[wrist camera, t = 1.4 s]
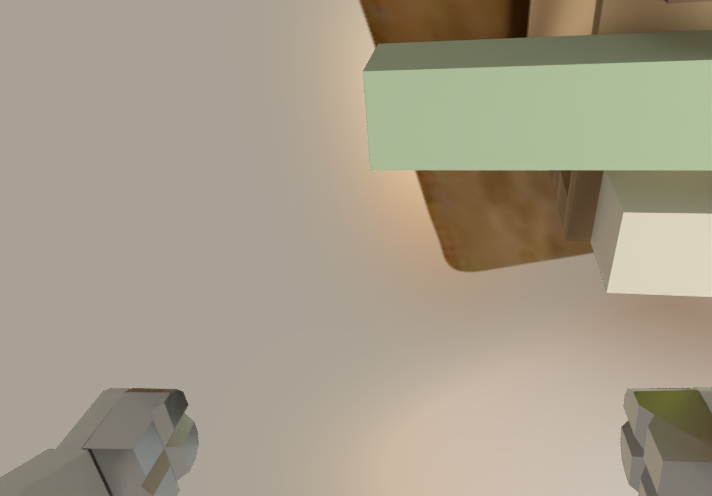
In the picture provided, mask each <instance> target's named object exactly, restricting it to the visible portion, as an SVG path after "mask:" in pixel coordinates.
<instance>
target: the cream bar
mask: <svg viewBox="0 0 712 496" xmlns="http://www.w3.org/2000/svg"><path fill="white" fill-rule="evenodd" d="M591 245H592V248H593V251H594V255H595V258H596V261H597V264H598V267H599V270H600V273H601V277H602V280H603V283H604V286H605V289H606V292H607V293H629V294H653V295H678V296H704V297H712V171H708V170H603V176H602V182H601V187H600V193H599V198H598V204H597V209H596V215H595V220H594V226H593V231H592V237H591Z"/></svg>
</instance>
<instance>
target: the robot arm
mask: <svg viewBox="0 0 712 496" xmlns="http://www.w3.org/2000/svg"><path fill="white" fill-rule="evenodd" d="M187 407H188V403H187V400H186V397H185V395H184V392H182V391H180V390H177V389H147V388H132V389H126V388H110V389H108V390H105V391H103V392H102V393H101V394H100V396H99V397H98V398H97V399H96V401H95V402H94V403H93V404H92V405H91V407H90V408H89V409H88V410H87V412H86V413H85V414H84V415H83V416H82V418H81V419H80V420H79V421H78V422H77V424H76V425H75V426H74V427H73V428H72V430H71V431H70V432H69V433H68V435H67V436H66V437H65V438H64V440H63V441H62V442H61V443H60V444H59V446H58V447H57V448H56V449H47V450H46V451H44V452H42V453H41V454H39V455H37V456H36V457H34V458H32V459H31V460H29V461H27V462H26V463H24V464H22V465H21V466H19V467H17V468H15V469H14V470H12V471H11V472H9V473H7V474H5V475H4V476H2V477H0V496H177V495H178V493H179V486H178V482H177V480H179V479H180V478H181V477H182V476H184V475H185V474H187V473H188V472H189V471H190V469H191V467H192V465H193V463H194V461H195V459H196V455H197V449H198V444H199V442H198V431H197V428H196V425H195V422H194V421H193V420H192V419H190V418H189V417H188V416H187V415H186V414H185V411H186V409H187ZM624 409H625V412H626V415H627V417H628V421H627V422H626V423H625V424H624V425H623V426H622V427H621V441H620V442H621V454H622V461H623V466H624V470H625V473H626V477H627V480H628V483H629V485H631V486H632V487H633V488H634V489H635V490H636V491H638V492H639V496H712V387H701V388H700V387H699V388H698V387H695V388H692V389H691V388H649V389H647V388H646V389H627V391H626V394H625V399H624Z"/></svg>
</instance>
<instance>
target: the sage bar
mask: <svg viewBox="0 0 712 496" xmlns="http://www.w3.org/2000/svg"><path fill="white" fill-rule="evenodd" d="M363 79H364V92H365V106H366V118H367V132H368V146H369V160H370V170H708V171H712V30H695V31H672V32H648V33H624V34H601V35H577V36H553V37H530V38H506V39H483V40H459V41H435V42H412V43H388V44H378V45H377V47H376V49H375V50H374V52H373V54H372V56H371V58H370V60H369V61H368V63H367V65H366V67H365V69H364V70H363Z"/></svg>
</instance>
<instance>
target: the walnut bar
mask: <svg viewBox="0 0 712 496" xmlns="http://www.w3.org/2000/svg"><path fill="white" fill-rule="evenodd" d="M663 1H665V2H666V3H688V2H707V1H712V0H663Z"/></svg>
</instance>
